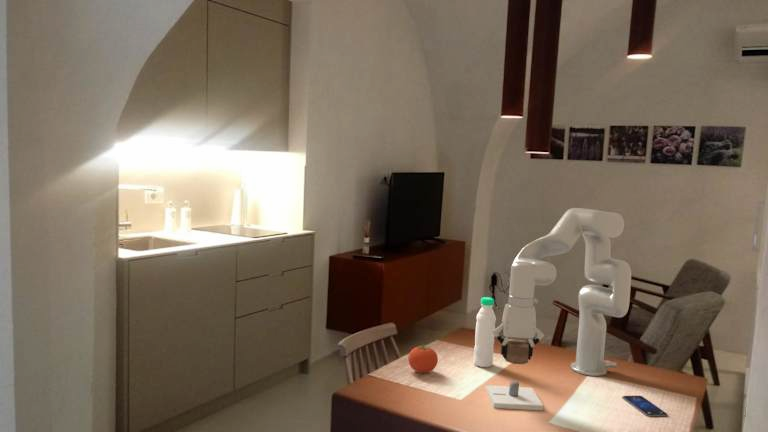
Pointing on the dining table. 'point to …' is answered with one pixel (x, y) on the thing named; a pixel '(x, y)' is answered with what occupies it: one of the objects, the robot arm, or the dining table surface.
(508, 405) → the plate
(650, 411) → the smartphone
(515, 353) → the brown short cylinder
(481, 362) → the water bottle
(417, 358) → the tomato
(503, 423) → the dining table surface
